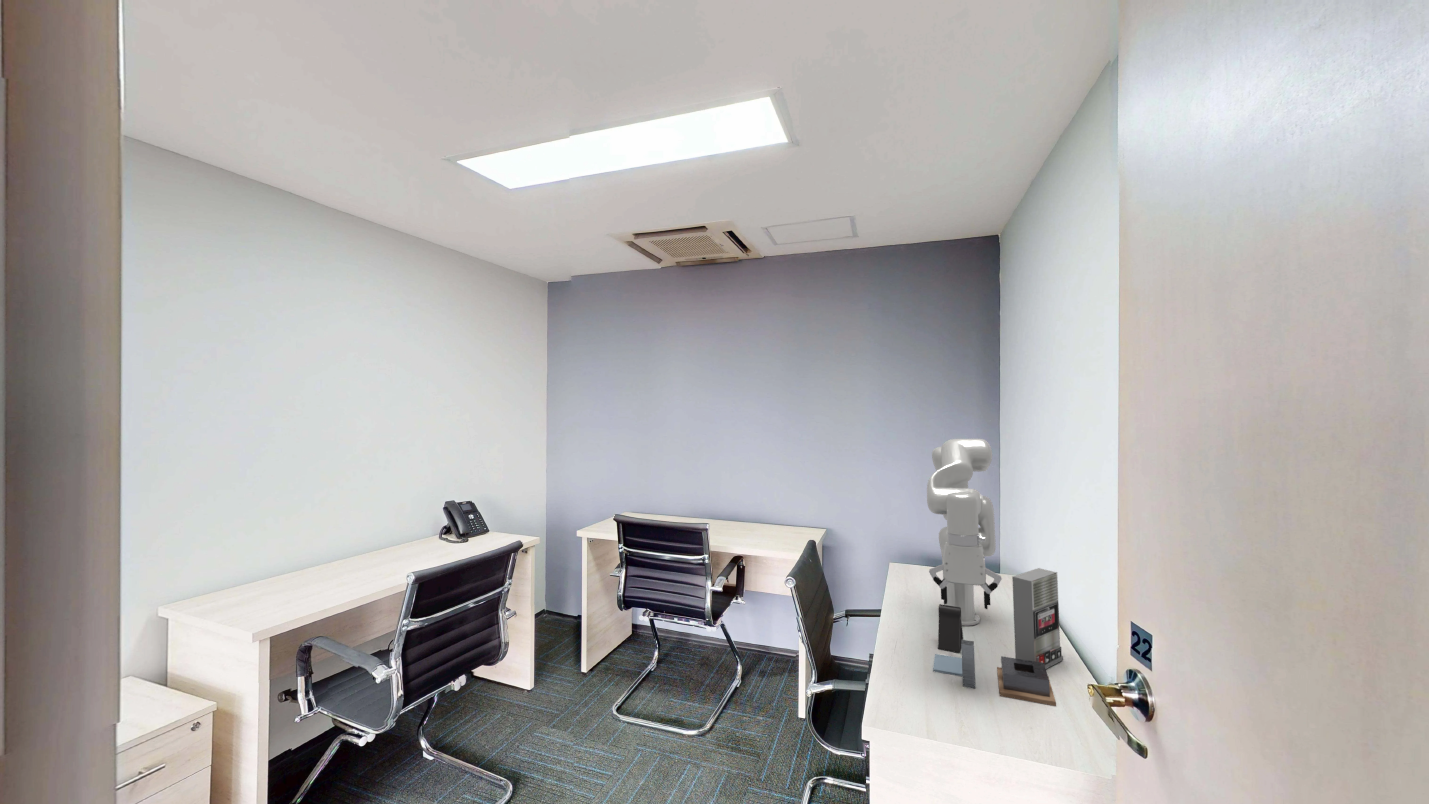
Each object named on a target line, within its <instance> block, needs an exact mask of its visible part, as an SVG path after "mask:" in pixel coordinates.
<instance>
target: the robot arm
mask: <svg viewBox="0 0 1429 804" xmlns="http://www.w3.org/2000/svg"><path fill="white" fill-rule="evenodd" d="M992 450H993V449H992V447H991V445H990V443H989V442H988V441H987V440H986V439H984V438H950V439H949V440H946V441H945V442H944V443H942V445H941V446H937V447H936V448H935V447H934V449H933V450H932V452H931V459H932V463H933V466H934V468H935V472H934V473H932V474H931V475H930V477H929V479H928V480H927V484H926V503H927V507H928V509H929V511H930V512H931V513H933V514H935V515H943V518H944V520H946V526H945V527H942V528H940V531H939V532H938V543H939V546H940V547H939V548H940V553H941V554H940V555H941V564H939V565H937V566H936V565H935V566H934V567H931V568H929V570H928V573H929V575H930V576H931V578H932V581H933V582H935V584H936V585H937V586H938V587H939V588H940V600H941V601H942V600H943V605H948V606H954V607H960V608H961V620H962V627H963V626H975V625H978V624H979V623H980V621H981V620H980V619H981V617H980V616H979V615H978V614H976V613H975V591H974V590H975V589H974V586H980V587H981V588H982V589H983V605H984V607H983V608H984V609H985V610H988V606H991V594H992V592H993V591H995V590H996V589H997V588H998V586H999V585H1000V583H1001V582H1002V579H1003V578H1002V576H1001V575H1000V574H998V573H996V572H995V571H992V570H990V569H989V568H987V567H986V561H985V557H987V558H988V557H992V556H994V554H995V553H996V548H997V547H996V546H997V545H996V529H995V528H996V526H995V512H994V511H995V510H994V505H993V502H992V500H991V499H990V498H989V497H988V496H986V495H982V494H981V492H980V491H978V490H977V489H975V488H969V481H970V480H971V479H972V477H973V475H974V472H986V471H987V470H988V469H989V467H990V466H991V464H992V460H993V451H992ZM941 571H942V579H941V578H940V577H939V576H938V575H937V573H939V572H941ZM987 576H988V577H990V578H992V579H993V581H992V582H991V583H990V584H988V583H987V582H986V580H987Z"/></svg>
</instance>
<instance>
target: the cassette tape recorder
mask: <svg viewBox="0 0 1429 804" xmlns="http://www.w3.org/2000/svg"><path fill="white" fill-rule="evenodd" d="M1011 577H1012V579H1011V580H1012V602H1013V605H1012V606H1013V627H1014V629H1013V630H1014V631H1013V632H1014V653H1015V654H1014V658H1016V659H1022V660H1029V661H1035V662H1042V663H1044V664H1045V668H1046V669H1048V668H1050V667H1052V666H1054V665H1056V664H1058V663H1060V662H1062V661H1064V656H1063V654H1062V646H1061V637H1060V636H1061V635H1060V612H1059V611H1060V607H1059V584H1058V582H1059V581H1058V572H1057V571H1052V570H1047V569H1044V568H1041V567H1037V568H1034V569H1031V570H1028V571H1025V572H1022V573H1019V574H1016V575H1013V576H1011Z"/></svg>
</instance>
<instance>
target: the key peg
mask: <svg viewBox="0 0 1429 804" xmlns="http://www.w3.org/2000/svg"><path fill="white" fill-rule="evenodd" d="M960 652H961V658H962V676H961V677H962V678H961V679H962V687H965V688H969V689H976V664H975V641H974V640H967V639H963V640H961V651H960Z"/></svg>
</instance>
